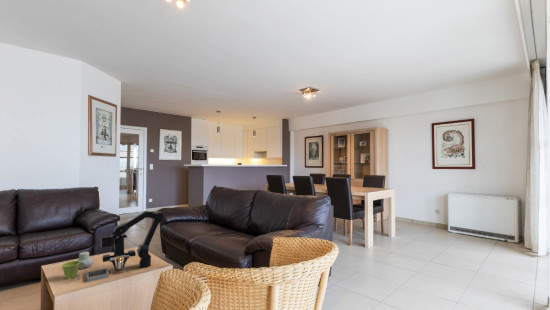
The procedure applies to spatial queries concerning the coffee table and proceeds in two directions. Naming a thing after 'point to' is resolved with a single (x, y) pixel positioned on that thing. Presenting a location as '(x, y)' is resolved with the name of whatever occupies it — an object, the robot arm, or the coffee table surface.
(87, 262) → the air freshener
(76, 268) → the plant pot
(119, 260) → the lock pin
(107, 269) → the tray
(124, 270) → the tensioner block
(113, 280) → the coffee table surface
